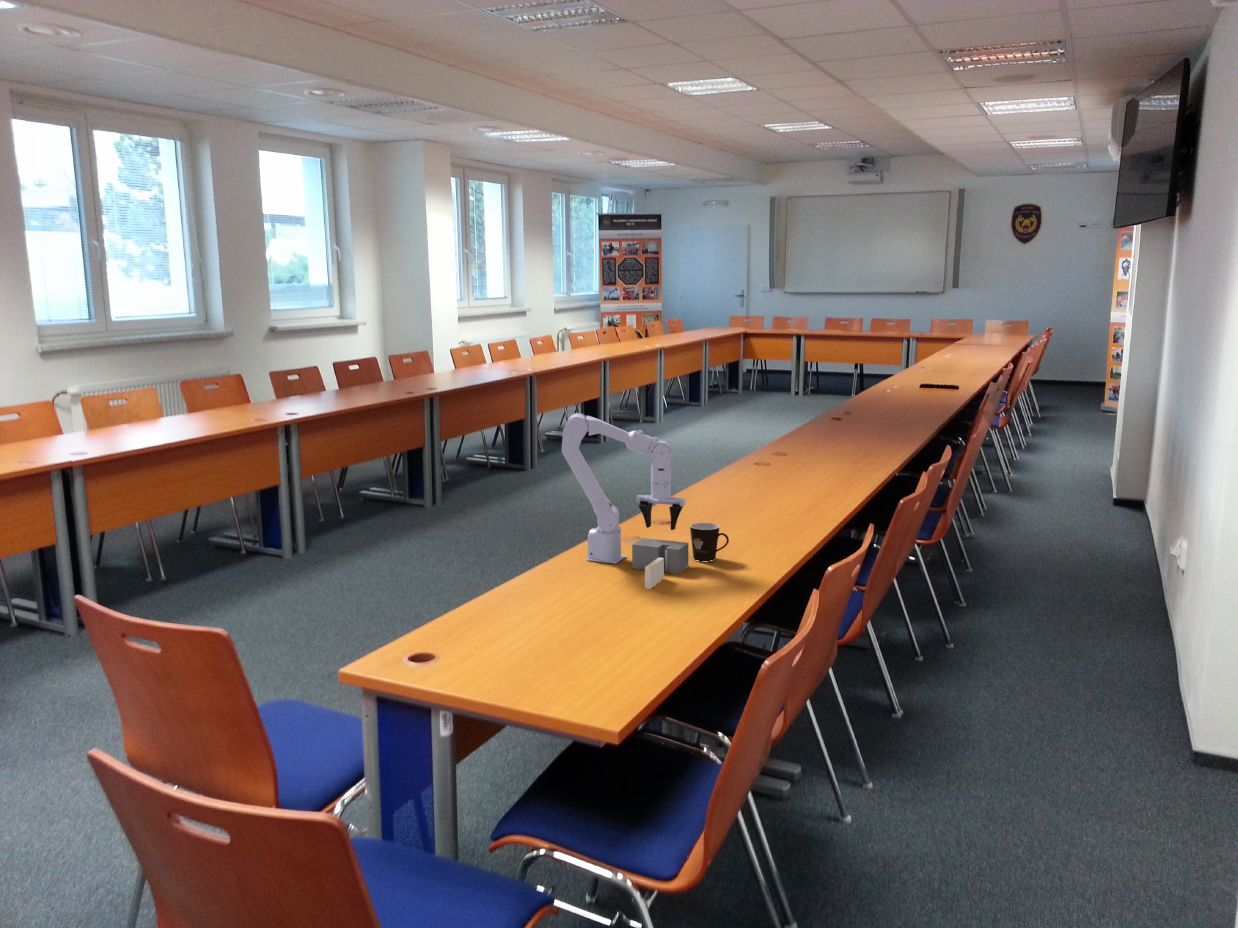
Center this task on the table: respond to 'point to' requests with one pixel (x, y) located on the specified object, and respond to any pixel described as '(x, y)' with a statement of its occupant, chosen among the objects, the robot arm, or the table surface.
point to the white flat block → (654, 573)
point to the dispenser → (660, 554)
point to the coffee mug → (705, 540)
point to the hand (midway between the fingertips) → (660, 528)
